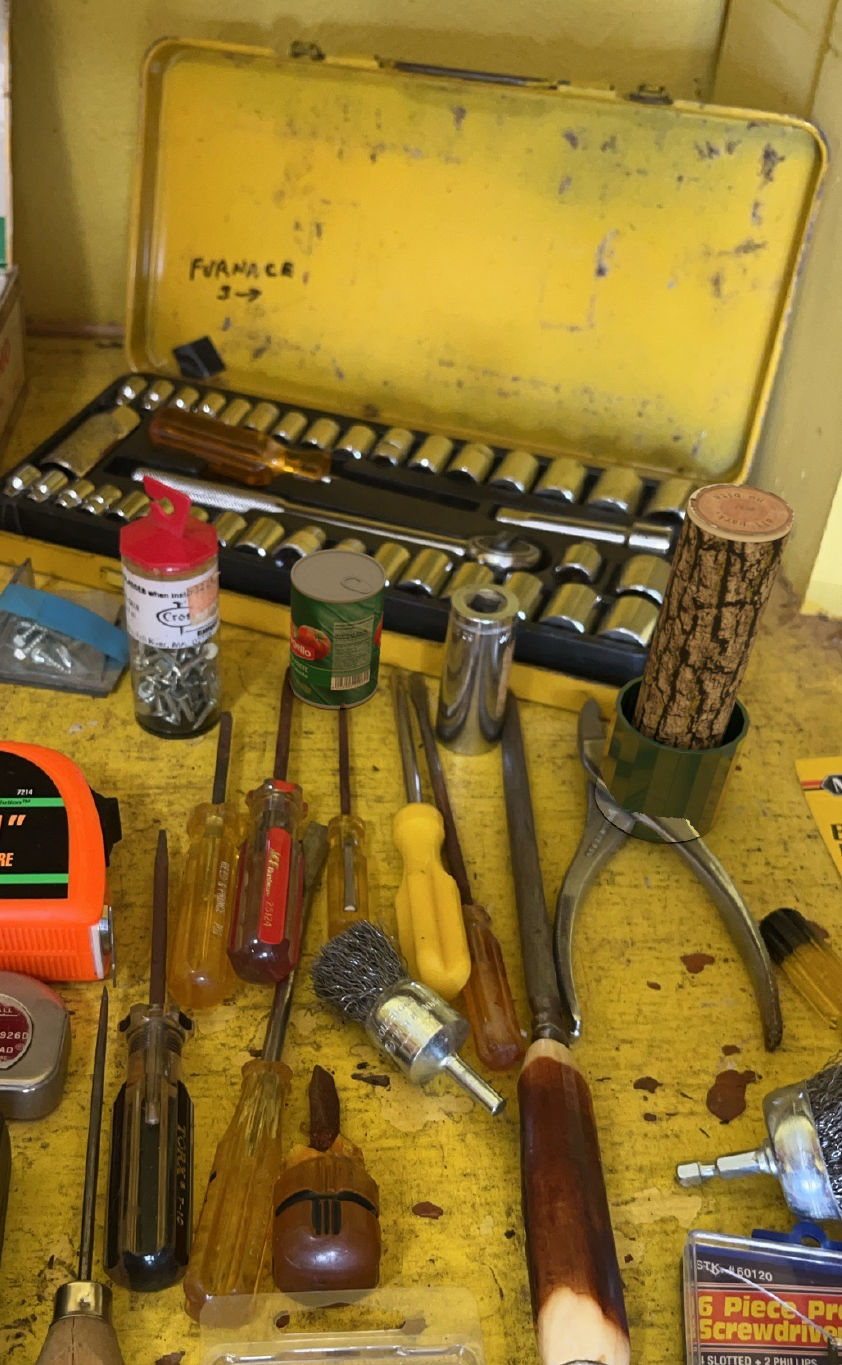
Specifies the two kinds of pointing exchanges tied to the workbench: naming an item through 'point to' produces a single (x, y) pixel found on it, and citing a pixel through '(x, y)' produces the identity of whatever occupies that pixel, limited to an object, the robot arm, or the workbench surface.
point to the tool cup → (668, 769)
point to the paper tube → (711, 613)
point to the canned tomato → (336, 627)
